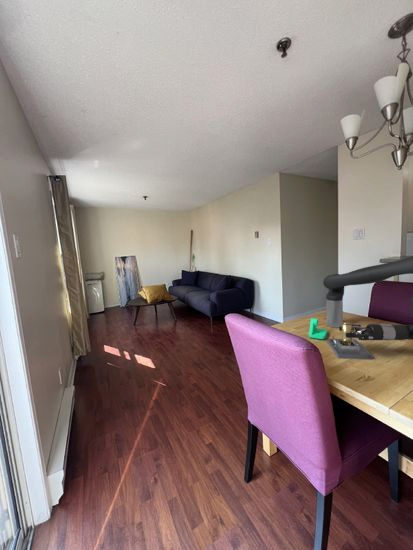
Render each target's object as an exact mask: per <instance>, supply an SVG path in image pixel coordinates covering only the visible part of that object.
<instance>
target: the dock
mask: <svg viewBox="0 0 413 550" xmlns="http://www.w3.org/2000/svg"><path fill="white" fill-rule="evenodd" d="M326 344H328V346H329V348H331V350H332V352H333V353H334V354H335V355H336V357H337V358H338V359H348V360H349V359H350V360H373V354H372V353H371V352H370V351H368V349H367V348H365V346H364V345H362V344H361V343H360V342H359V341H358V339H356V338H352V346H343V345H342V338H335V337H334V336H330V337H329V338H326Z"/></svg>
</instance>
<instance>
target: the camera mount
mask: <svg viewBox="0 0 413 550" xmlns="http://www.w3.org/2000/svg"><path fill="white" fill-rule="evenodd" d="M318 325H319V319H318V318H313V317H311V318H310V322H309V332H308V337H309V338H313V339H317V340H318V339H320V340H325V339H327V334H328V329H325V328H319V327H318Z"/></svg>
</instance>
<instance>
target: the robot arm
mask: <svg viewBox="0 0 413 550" xmlns="http://www.w3.org/2000/svg"><path fill="white" fill-rule="evenodd" d="M408 274H409V275H410V274H411V275H412V274H413V255H411V256H409V257H405V258H402V259H398V260H396V261H395V260H394V261H392V262H384V263H380V264H376V265H370V266H364V267H362V268H359V269H355V270H351V271H349V272H346V273H332V274H330V275H327V276H325V278H324V279H323V280H322V281H323V287H325V288H326V289H328V292H327V293H326V295H325V300H326V301H325V303H326V305H325V306H326V309H325V312H326V316H325V318H326V323H325V324H326V326H328V327H330V328H334V329H335V328H336V329H339V331H340V332H342V323H343V322H344V313H343V311H344V309H343V307H344V305H343V304H344V302H343V299H344V295H345V287H348V286H357V285H358V286H359V285H360V286H361V285H367V284H368V285H369V284H375V283H380V282H383V281H385V280H387V279H388V280H389V279H391V278H392V277H393V278H394V277H395V276H400V275H408ZM410 305H411V306H410V307H411V309H410V313H411V317H412V318H413V295H412V297H411V304H410ZM351 328H352V333H346V337H347V338H352V339H356V340H359V341H406V340H410V341H411V340H413V324H404V325H403V324H388V323H368V324H367V325H366V327H364V326H362V325H361V324H351Z"/></svg>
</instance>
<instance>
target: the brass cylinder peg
mask: <svg viewBox="0 0 413 550" xmlns="http://www.w3.org/2000/svg"><path fill="white" fill-rule="evenodd" d="M351 325H352V323H351V321H343V323H342V331H341V339H342V345H343V346H352V339H353V338H347V337H346V333H353V332H352V328H351Z"/></svg>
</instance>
